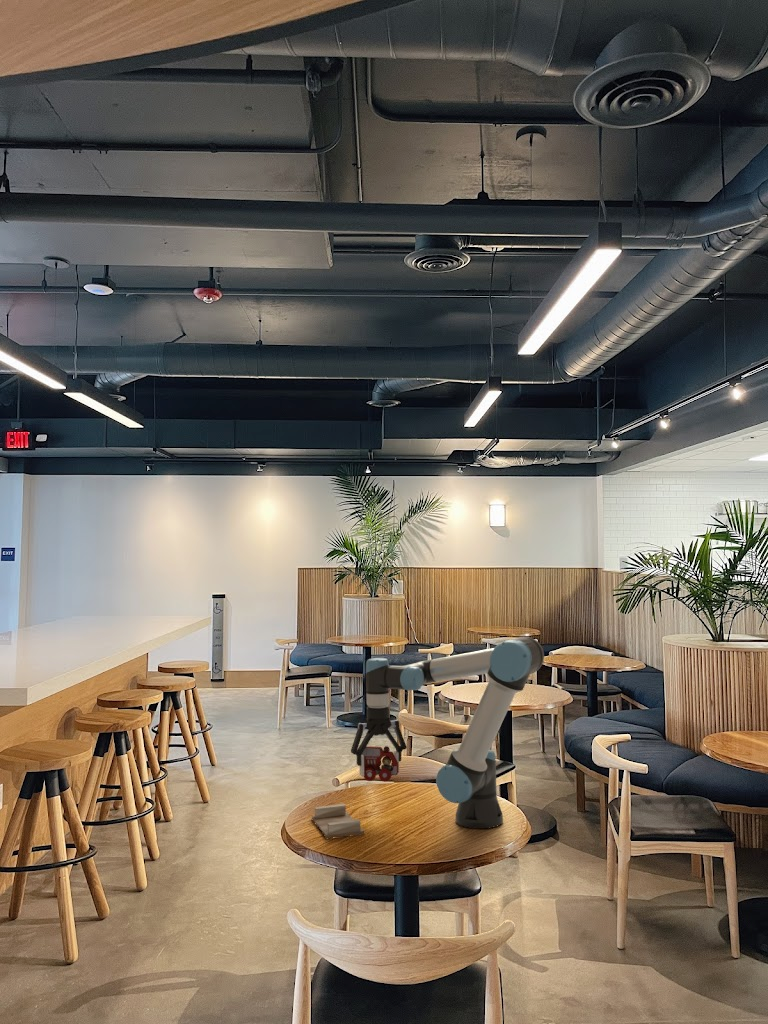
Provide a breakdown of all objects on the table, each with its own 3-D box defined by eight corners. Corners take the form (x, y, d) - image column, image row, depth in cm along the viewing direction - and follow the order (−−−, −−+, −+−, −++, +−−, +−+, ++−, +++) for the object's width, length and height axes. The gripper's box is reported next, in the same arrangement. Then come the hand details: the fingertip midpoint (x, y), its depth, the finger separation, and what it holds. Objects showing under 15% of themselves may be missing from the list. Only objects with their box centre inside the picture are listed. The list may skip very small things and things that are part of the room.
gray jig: (364, 834, 238) (363, 821, 238) (326, 839, 234) (326, 826, 234) (346, 815, 256) (346, 802, 257) (311, 819, 253) (311, 807, 253)
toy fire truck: (396, 782, 246) (395, 749, 247) (358, 781, 249) (358, 748, 249) (399, 776, 253) (399, 744, 254) (363, 775, 255) (362, 743, 256)
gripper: (407, 701, 260) (409, 767, 258) (340, 706, 252) (341, 774, 251) (415, 705, 253) (417, 772, 251) (346, 710, 245) (347, 780, 244)
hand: (379, 773), depth 251 cm, fingers closed on toy fire truck, 11 cm apart
